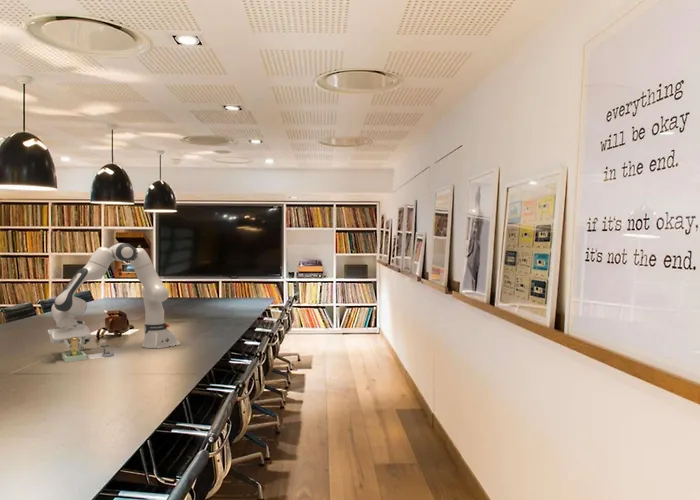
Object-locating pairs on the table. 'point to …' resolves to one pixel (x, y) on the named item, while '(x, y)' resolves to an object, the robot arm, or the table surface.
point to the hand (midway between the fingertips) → (74, 346)
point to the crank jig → (101, 354)
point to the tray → (74, 357)
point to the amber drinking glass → (74, 346)
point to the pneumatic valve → (83, 343)
